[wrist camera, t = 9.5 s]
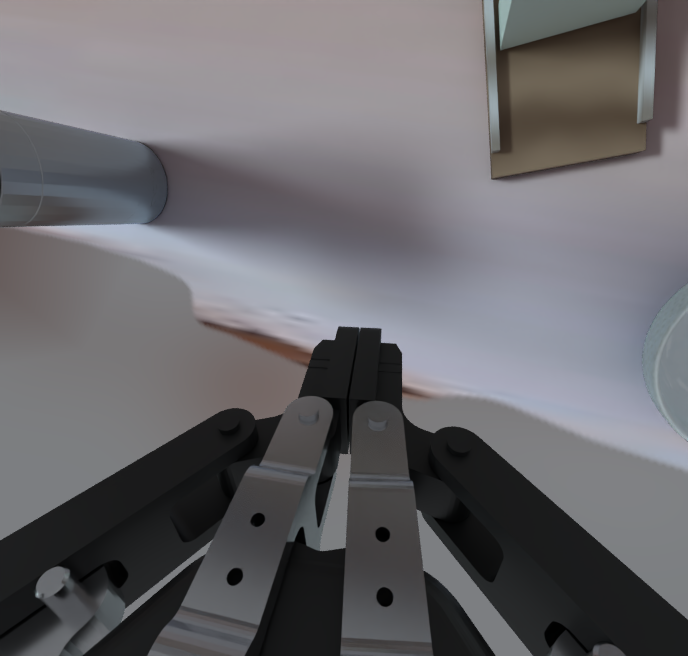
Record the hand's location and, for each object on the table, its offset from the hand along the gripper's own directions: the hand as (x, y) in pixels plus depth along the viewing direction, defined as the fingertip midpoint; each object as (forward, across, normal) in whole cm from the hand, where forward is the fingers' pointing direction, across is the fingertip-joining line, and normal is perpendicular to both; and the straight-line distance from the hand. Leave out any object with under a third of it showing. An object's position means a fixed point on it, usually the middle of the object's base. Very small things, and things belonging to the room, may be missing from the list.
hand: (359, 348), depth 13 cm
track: (+28, -13, -9) cm, 33 cm away
